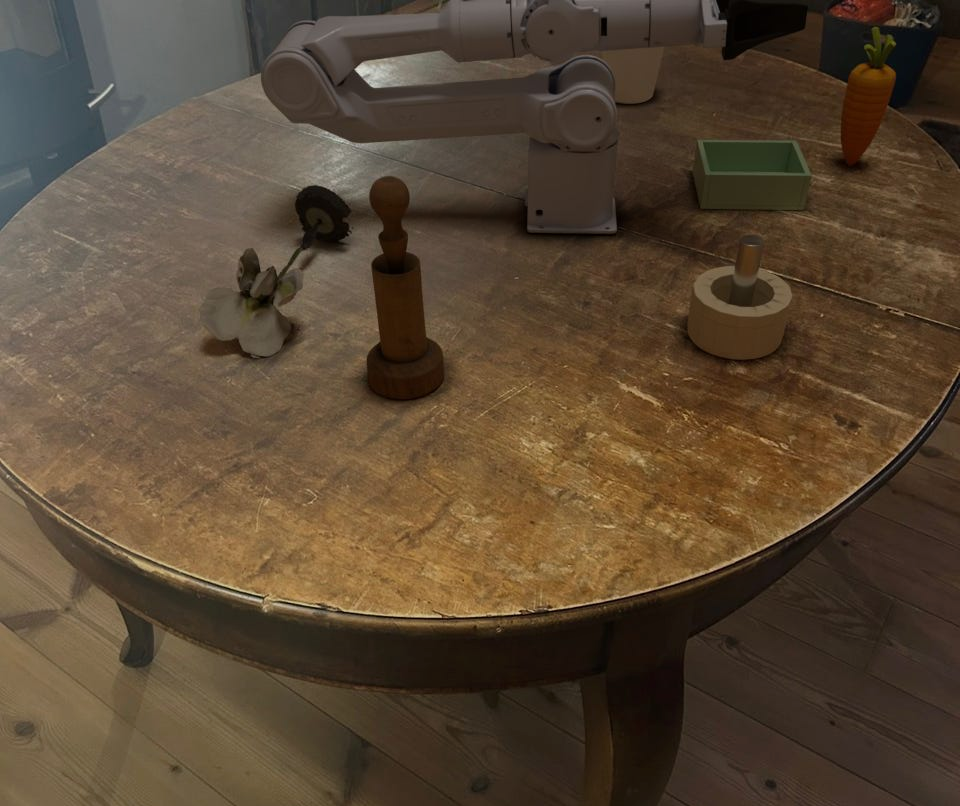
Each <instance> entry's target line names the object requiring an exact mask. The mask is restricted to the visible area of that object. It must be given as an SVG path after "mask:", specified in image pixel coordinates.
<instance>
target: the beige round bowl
mask: <svg viewBox="0 0 960 806" xmlns="http://www.w3.org/2000/svg"><path fill="white" fill-rule="evenodd" d="M734 269H735V265H725V266H720V267H715V268H711V269H708V270H707V271H705V272H703V273H701V274H699V275H698V276H697V278H696V279H695V280H694V282H693V284H692V290H691V296H690V301H689V309H688V314H687V328H686V330H687V335H688V337H689V339H690V340H691V342H692V343H693V344H694V345H695V346H696V347H698V348H699V349H701V350H702V351H704V352H705V353H708V354H710V355H713V356H716V357H718V358H724V359H728V360H738V361H739V360H743V361H744V360H746V361H747V360H755V359H760V358H763V357H767V356H768V355H770V354H772V353H774V352H776V350H777V349H778V348H779V347H780V345H781V343H782V340H783V338H784V335H785V331H786V326H787V322H788V318H789V314H790V309H791V306H792V301H793V297H794V296H793V293H792V289H791V287H790V285H789V284H788V283H786V281H785V280H783V279H782V278H781V277H780V276H778V275H776V274H774V273H772V272H770V271H768V270H765V269H761V268H759V270H758V275H757V280H756V285H755V290H754V295H753V300H752V304H751V307H739V306H735V305H730V304H728V301H729V296H730V290H731V285H732V280H733V274H734Z"/></svg>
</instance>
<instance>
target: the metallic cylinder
mask: <svg viewBox="0 0 960 806" xmlns="http://www.w3.org/2000/svg"><path fill="white" fill-rule="evenodd" d="M764 245H765V239H764V238H762V237H761V236H759V235H757V234H756V235H755V234H744V235H742V236H741V237H740V238H739V241H738V249H737V253H736V259H735V263H734V266H735V269H734V274H733V280H732V285H731V290H730V296H729V301H728V304H730V305H735V306H739V307H751V304H752V300H753V295H754V290H755V285H756V280H757V275H758V270H759V269H760V265H761V260H762V254H763V250H764Z"/></svg>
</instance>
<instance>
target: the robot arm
mask: <svg viewBox="0 0 960 806" xmlns="http://www.w3.org/2000/svg"><path fill="white" fill-rule="evenodd" d="M808 9H809V4H808V2H806V1H805V2H803V1H799V0H449V1H448V2H447V4H446V5H445V6H444V8H443V9H442V10H441V11H440V12H428V13H427V12H426V13H401V14H400V13H398V14H373V15H349V16H348V15H347V16H346V15H345V16H344V15H343V16H341V15H328V16H327V15H326V16H323V17H321V18H318V19H317V20H309V19H308V20H307V19H306V20H300V21H297V22H295V23H293V24H292V25H290V26H289V27H288V29H287V30H286V31H285V33H284V34H283V37H282V39H281V41H280V42H279V44H278V45H277V47H276V48H275V49H274V50H273V52H271V53H270V54H269V55H268V56H267V57H266V59H265V60H264V61H263V64H262V66H261V70H260V82H261V88H262V90H263V93H264V94H265V96H266V98H267V99H268V101H269V102H270V103H271V104H272V106H274V108H276V110H278V111H279V112H280V113H281V114H282V115H283V116H284V117H285V118H286V119H287V120H288V121H289V122H290V123H291V124H300V125H302V124H303V125H309V126H314V127H316V128H317V129H319V130H323V131H324V132H327V133H329V134H332V135H334V136H336V137H338V138H341V139H343V140H346V141H347V142H351V143H355V144H373V143H388V142H403V141H404V142H406V141H418V140H419V141H420V140H435V139H452V138H467V137H482V136H483V137H485V136H498V135H499V136H500V135H515V134H526V135H527V136H529V139H528V141H529V142H528V157H527V158H528V159H527V161H528V162H527V165H528V166H527V188H525V189H524V190H525V191H524V205H525V207H527V220H526V221H527V225H526V226H527V227H526V231H527V232H528V233H531V234H532V233H533V234H590V235H591V234H592V235H593V234H595V235H599V234H600V235H605V234H606V235H614V234H616V233H617V231H618V227H617V226H618V225H617V213H616V199H615V198H614V192H615V181H616V180H615V179H616V171H617V170H616V169H617V158H618V157H617V156H618V145H619V144H618V143H619V130H618V129H617V128H616V127H617V125H618V109H617V105H616V102H615V78H614V74H613V72H612V70H611V68H610V67H609V65H608V64H607V63H606V62H605V61H603V60H602V58H600V57H598V56H595V55H592V54H581V55H576V56H574V55H575V54H576V53H586V52H598V51H599V52H601V51H611V50H625V49H638V48H655V47H664V48H667V47H680V46H681V47H682V46H694V47H696V48H698V47H699V48H700V47H702V49H711V48H713V49H714V48H721V57H722V60H723V61H731V60H735V59H736V58H738V57H739V56H740V55H742V54H743V53H745V52H747V51H749V50H751V49H753V48H754V47H756V46H760V45H761V44H764V43H766V42H771V41H773V40H775V39H779V38H783V37H787V36H789V35H792V34H795V33H798V32H802V31H804V30H805V29H806V26H807V25H806V24H807V16H808ZM440 51H441V52H444V53H445V54H446V55H447V56H449V57H450V58H451V59H453V60H454V61H455V62H456V63H459V64H460V63H470V62H471V63H472V62H484V61H485V62H486V61H497V60H505V59H506V60H509V59H519V58H522V57H525V56H526V55H531V56H533V57H534V58H538V59H539V60H541V61H544V62H550V64H551V67H549V66H547V67H543V68H540V69H538V70H536V71H534V72H532V73H530V74H528V75H526V76H522V77H510V78H497V79H494V78H493V79H485V80H484V79H483V80H482V79H481V80H470V81H469V80H467V81H454V82H440V83H427V84H411V85H398V86H396V85H395V86H385V87H384V86H383V87H373V86H372V85H370V84H369V83H368V82H367V80H365V78H364V77H362V76H361V75H360V73H359V72H357V71H356V69H357V68H358V67H359V66H360V65H362V63H365V62H370V61H376V60H384V59H392V58H397V57H398V58H399V57H404V56H413V55H420V54H426V53H427V54H428V53H434V52H440ZM573 56H574V57H573Z"/></svg>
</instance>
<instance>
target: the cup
mask: <svg viewBox="0 0 960 806" xmlns="http://www.w3.org/2000/svg"><path fill="white" fill-rule="evenodd" d="M664 50H665V47H655V48H638V49H625V50H611V51H600V52H601V53H600V54H601V59H602V60H603V61H605V62H606V63H607V64H608V65H609V67H610V68H611V70H612V72H613V74H614V78H615V103H618V104H623V105H624V104H625V105H634V104H635V105H636V104H641V103H646V102H647V101H649V100H650V99H652V98H653V96H654V93H655V89H656V85H657V84H656V83H657V79H658V76H659V72H660V68H661V65H662V59H663V54H664Z"/></svg>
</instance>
